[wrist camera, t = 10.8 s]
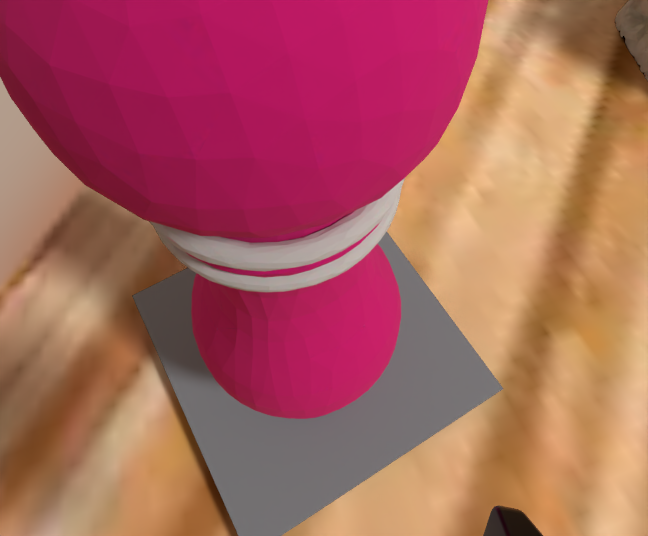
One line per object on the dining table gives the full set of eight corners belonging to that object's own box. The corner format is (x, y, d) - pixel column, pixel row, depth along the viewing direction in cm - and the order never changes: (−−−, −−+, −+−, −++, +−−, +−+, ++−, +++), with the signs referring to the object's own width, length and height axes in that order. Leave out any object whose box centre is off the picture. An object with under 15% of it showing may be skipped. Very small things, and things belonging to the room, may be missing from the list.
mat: (251, 554, 18) (248, 557, 17) (138, 301, 22) (131, 295, 21) (497, 392, 20) (503, 388, 20) (351, 194, 25) (352, 185, 24)
